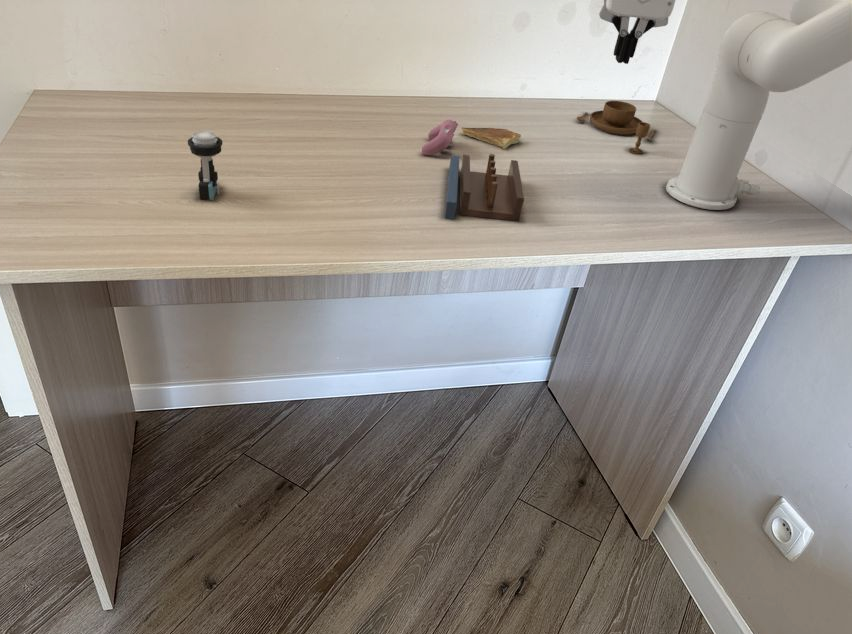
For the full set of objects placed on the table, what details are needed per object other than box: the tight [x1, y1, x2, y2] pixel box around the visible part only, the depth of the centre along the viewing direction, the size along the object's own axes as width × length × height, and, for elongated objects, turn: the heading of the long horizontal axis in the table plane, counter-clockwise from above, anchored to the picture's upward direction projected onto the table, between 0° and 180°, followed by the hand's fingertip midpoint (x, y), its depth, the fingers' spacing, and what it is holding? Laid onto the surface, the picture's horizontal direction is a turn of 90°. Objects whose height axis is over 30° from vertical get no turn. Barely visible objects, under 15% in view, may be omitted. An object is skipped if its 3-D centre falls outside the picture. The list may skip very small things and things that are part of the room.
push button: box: [187, 130, 223, 201], centre depth 112 cm, size 7×5×10 cm
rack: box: [459, 153, 525, 222], centre depth 120 cm, size 10×16×6 cm, turn 175°
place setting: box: [576, 100, 656, 155], centre depth 152 cm, size 18×20×6 cm
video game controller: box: [421, 118, 459, 156], centre depth 136 cm, size 10×5×7 cm, turn 168°
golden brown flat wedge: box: [461, 127, 522, 150], centre depth 145 cm, size 11×8×2 cm
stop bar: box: [444, 154, 460, 220], centre depth 121 cm, size 2×20×3 cm, turn 174°
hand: (621, 61), depth 113 cm, fingers closed
